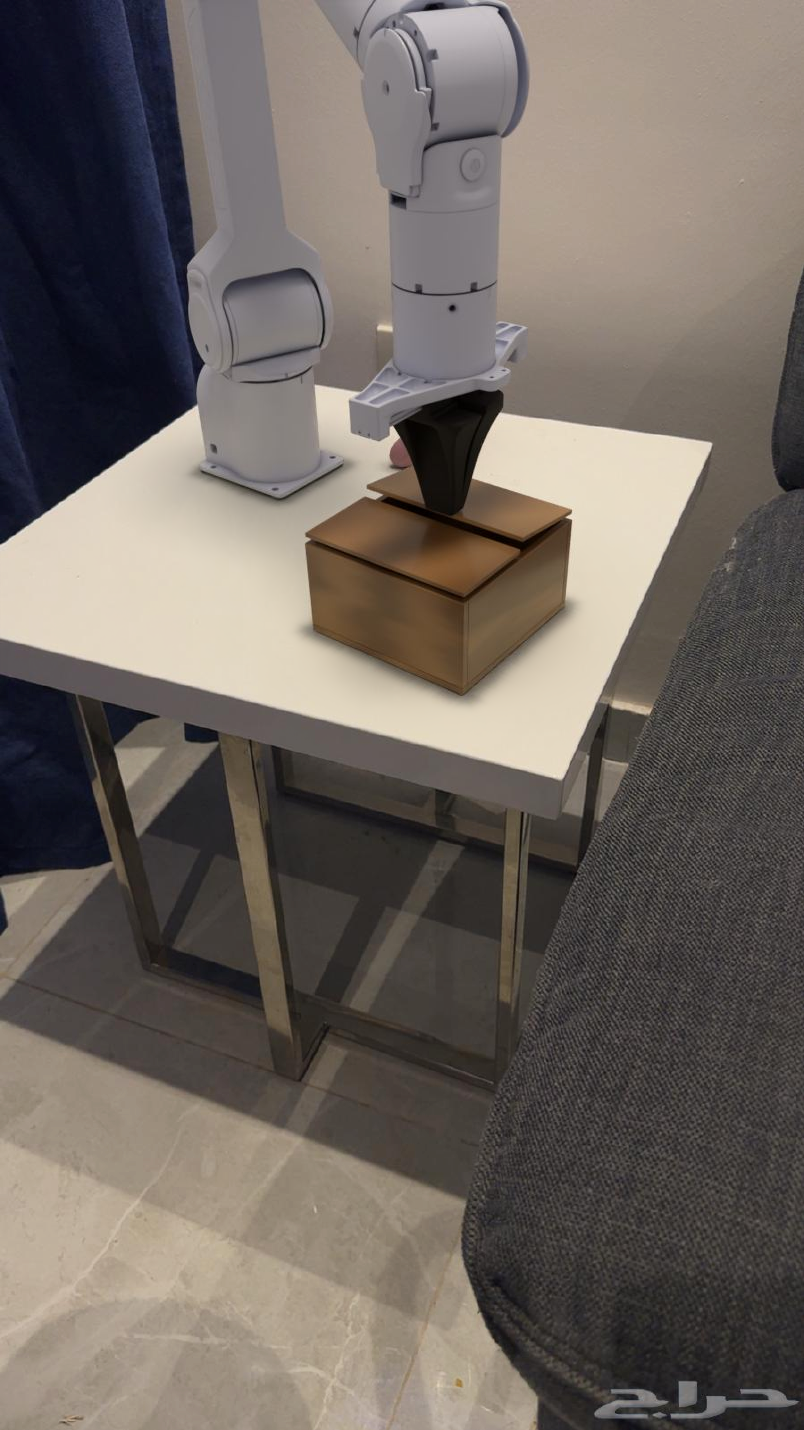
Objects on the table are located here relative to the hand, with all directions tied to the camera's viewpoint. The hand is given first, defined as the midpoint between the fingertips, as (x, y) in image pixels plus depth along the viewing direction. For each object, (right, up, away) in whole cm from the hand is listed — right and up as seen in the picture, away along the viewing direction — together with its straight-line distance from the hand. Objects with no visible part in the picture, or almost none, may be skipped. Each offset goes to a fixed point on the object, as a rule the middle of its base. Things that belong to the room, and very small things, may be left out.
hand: (444, 508), depth 64 cm
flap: (+2, +1, +2) cm, 3 cm away
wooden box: (0, -6, +5) cm, 8 cm away
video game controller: (0, +10, +25) cm, 27 cm away
